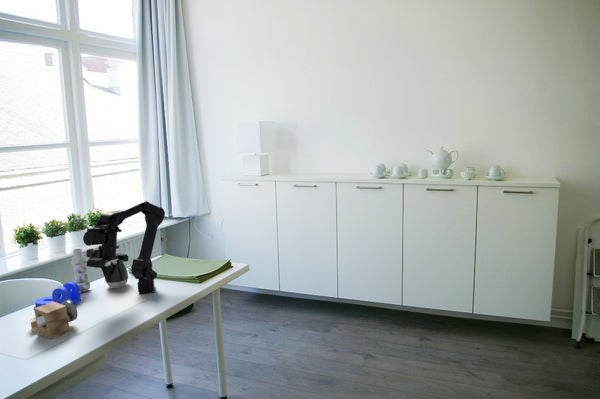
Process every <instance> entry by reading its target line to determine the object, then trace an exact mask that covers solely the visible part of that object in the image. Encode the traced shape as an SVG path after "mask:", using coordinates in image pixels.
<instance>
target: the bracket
mask: <svg viewBox="0 0 600 399" xmlns="http://www.w3.org/2000/svg"><path fill="white" fill-rule="evenodd" d="M81 297H82V295H81V292H80V288H79V286H78V284H77V283H75V281H69V282H67V283H64V284H63V286H59V287H57V288H55V289H54V290H52V293H51V295H50V296H44V297H41V298H39V299H36V300H35V301H34V304H35V308H36V307H39V306H42V305H45V304H48V303H51V302H56V303H59V304H61V303H62V302H64V301H67V300H71V301H72V302H73V303H74V304H75V305H77V304H78V303H80V302H82V298H81Z"/></svg>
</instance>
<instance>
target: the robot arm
mask: <svg viewBox="0 0 600 399" xmlns="http://www.w3.org/2000/svg"><path fill="white" fill-rule="evenodd" d="M139 213H141V214H143V215H144V221H145V225H146V227H145V230H144V234H143V235H144V236H143V237H142V238H143V239H142V244H141V248H140V251H139V256H138V257H137V258H133V259H132V263H131V267H130V268H131V274H132V275H133V276H134V279H136V280H138V281H137V284H136V285H137V292H138V295H145V294H153V293H155V291H156V289H157V288H156V286H155V279H157V277H158V273H157V272H156V270H154V269H153V262H152V258H151V257H152V253H153V249H154V244H155V240H156V236H157V233H158V229H159V226H160V225H161V224H162V223H163V221H164V219H165V216H166V211H165V209H164V208H163V207H159V206H158V205H155V204H153V203H151V202H150V201H147V200H138V201H136V202H135V203H132V204H129V205H127V206H125V207H123V208H121V209H118V210H112V211H106V212H102V213H101V214H100V217H99V219H98V221H97V222H96V224H95V225H94V227H93V228H92V227H91V228H90V227H89V228H86V231H85V232H84V234H83V236H82V240H83V243H84V244H85V245H86V246H88V247H89V246H90V247H91V246H97V245H99V246H98V249H95V250H94V249H93V248H90V249H87V250H86V256H85V257H86V258H87V265H86V266H87V268H88V267H89V268H90V267H91V268H96V269H98V268H99V269H101V271H102V274H103V276H104V281H105V280H106V281H109V280H110V278H111V277H112V275H113V273H114V271H115V270H116V268H117V267H118V265H119V264H118V263H117V262H116V261H118V260H122V261H123V262H124V263H126V262H129V256H128V254H126V253H117V249H120V248H119V247H120V245H117V244H118V233H122V232H123V230H122V229H121V228H120V227H119V226H120V225H121V224H122V223H124V221H125V220H126V219H128V218H130V217H133V216H134V215H136V214H139ZM88 258H89V259H88ZM106 281H105V282H106Z"/></svg>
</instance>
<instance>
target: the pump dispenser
mask: <svg viewBox="0 0 600 399" xmlns="http://www.w3.org/2000/svg"><path fill="white" fill-rule="evenodd" d="M116 262H117V263H118V264H119V265H118V267H117V268H116V270H115V271H114V273H113V275H112V277H111V278H110V280H109V281H106V280H105V279H104V281H105V283H106V284H107V286H109V288H112V289H118V288H119V289H120V288H122V287H124V286H125V285H126V284H127V283H128V279H129V273H128V269H127V266H126V264H125V262H123V261H122V260H118V261H116Z"/></svg>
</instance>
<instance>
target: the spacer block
mask: <svg viewBox="0 0 600 399" xmlns="http://www.w3.org/2000/svg"><path fill="white" fill-rule="evenodd" d="M30 326H31V332H32V333H35V332H38V329H37V323H36V317H32V318H30Z"/></svg>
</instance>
